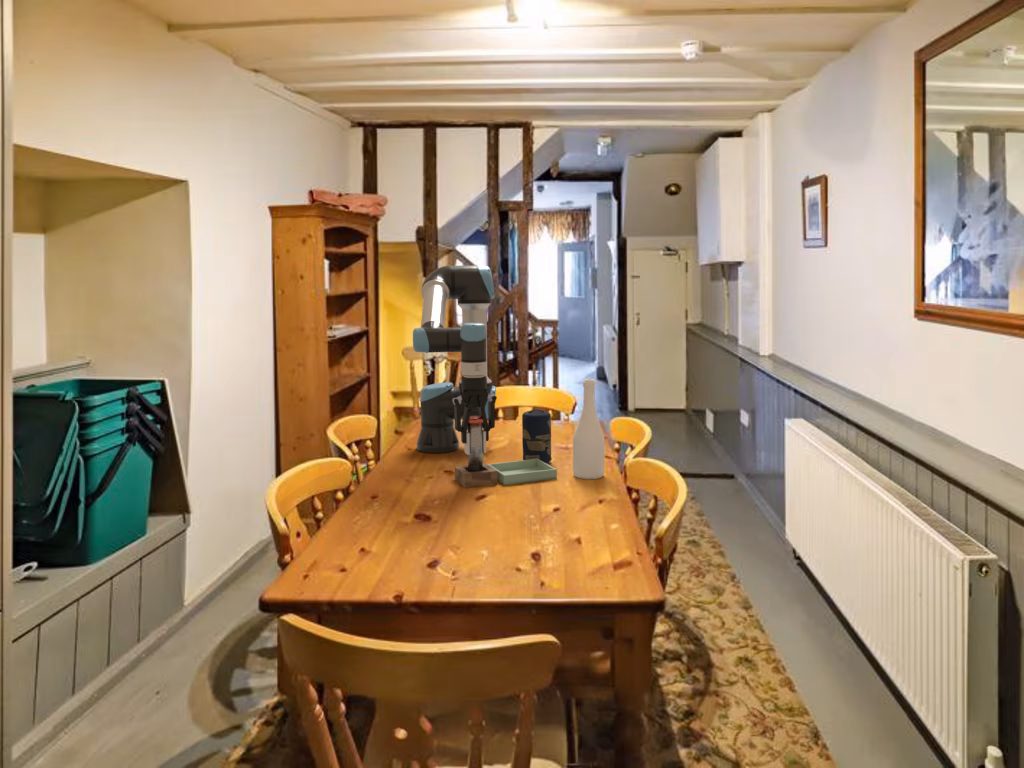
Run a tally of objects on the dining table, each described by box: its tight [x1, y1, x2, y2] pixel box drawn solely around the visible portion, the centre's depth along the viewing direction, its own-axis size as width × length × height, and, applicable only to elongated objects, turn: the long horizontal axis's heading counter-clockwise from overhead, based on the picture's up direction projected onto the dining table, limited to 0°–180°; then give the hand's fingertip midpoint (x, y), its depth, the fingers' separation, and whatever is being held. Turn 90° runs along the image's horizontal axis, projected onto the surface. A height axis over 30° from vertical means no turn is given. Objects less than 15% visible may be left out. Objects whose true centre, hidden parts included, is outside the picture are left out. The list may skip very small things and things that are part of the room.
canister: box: [521, 408, 552, 464], centre depth 244 cm, size 10×10×18 cm
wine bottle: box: [572, 378, 605, 480], centre depth 227 cm, size 10×10×30 cm
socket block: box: [454, 462, 498, 489], centre depth 224 cm, size 10×10×4 cm
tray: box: [486, 459, 558, 486], centre depth 229 cm, size 14×17×3 cm
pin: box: [467, 416, 484, 472], centre depth 223 cm, size 6×6×16 cm
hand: (475, 452), depth 223 cm, fingers closed on pin, 4 cm apart
